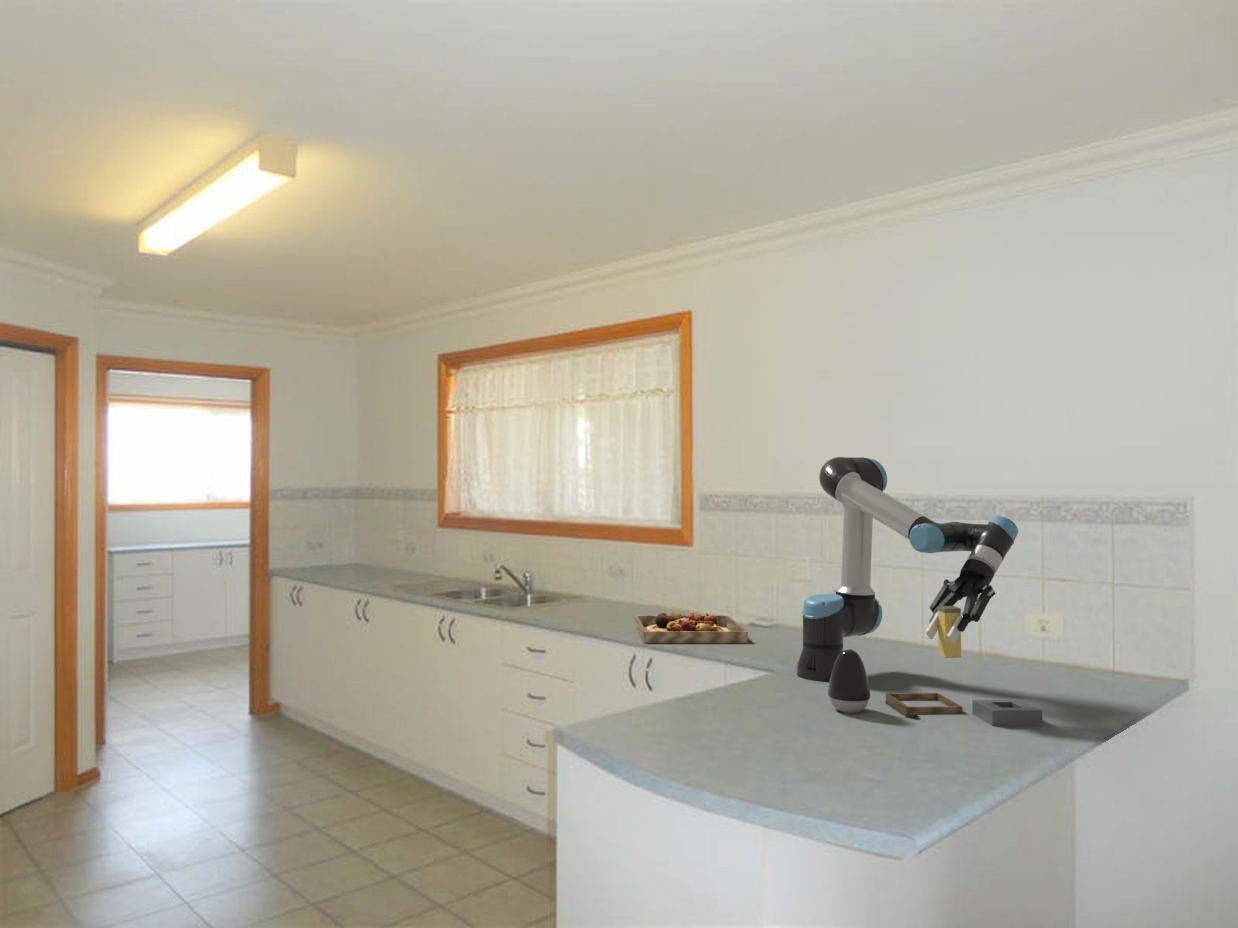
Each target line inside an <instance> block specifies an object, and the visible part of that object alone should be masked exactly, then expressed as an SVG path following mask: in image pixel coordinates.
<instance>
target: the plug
mask: <svg viewBox="0 0 1238 928" xmlns="http://www.w3.org/2000/svg"><path fill="white" fill-rule="evenodd" d="M937 608H938V631H937V637H938V639H937V642H938V643H937V647H938V648H937V649H938V650H937V651H938V655H939V656H940V657H943V658H945V659H960V658H962V632H961V633H960V634H959V636H958V638H957V639H956V641H955V643H951V642H950V640H949V639H948V637H947V635H948V633H949V631H950V629H951V628H952V626H953V624H954V623H955V621H956V619H957V617H958V616H962V614H961V613H962V608H961V607H958V606H956V605H953V606H937Z"/></svg>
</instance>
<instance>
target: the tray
mask: <svg viewBox="0 0 1238 928" xmlns="http://www.w3.org/2000/svg"><path fill="white" fill-rule="evenodd" d="M901 700H902V701H904V700H905V701H910V700H911V701H914V700H915V701H916V700H917V701H918V700H919V701H921V700H922V701H924V700H927V701H930V700H932V701H934V700H936V701H939V702H940V703H942V704H943V705H945V706H942V705H941V706H939V705H938V706H934V705H933V706H928V705H927V706H908V705H906V704H905V703H904V702H902V701H901ZM885 704H886V705H888V706H889V707H890V708H892V709H893V710H895V711H897V712H898V713H899V714H900V715H902V716H904V717H905V718H920V716H919V715H918V714H920V715H921V714H923V715H924V714H931V715H932V714H963V707H964V706H962V705H960V704H958V703H957V702H955V701H953V700H952V699H949V698H948V697H946V696H944V695H943V694H941V693H939V692H912V693H911V692H910V693H909V692H898V693H897V692H892V693H891V692H890V693H889V692H886V693H885Z"/></svg>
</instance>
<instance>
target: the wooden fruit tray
mask: <svg viewBox="0 0 1238 928" xmlns="http://www.w3.org/2000/svg"><path fill="white" fill-rule="evenodd" d="M658 615H659V614H657V615H655V614H654V615H652V614H651V615H649V614H646V615H640V614H638V615H635V616H634V627H635V629H636V630H637V633H638V635H639V637H640V639H641V642H642V643H643V644H748V643H749V633H748V632H749V631H748V630H746V628H744V627H743V626H742V625H741V624H740V623H738V622H737V621H736V620H734V619H733V618H732V617H731V616H730V615H713V616H714V617H716V619H717V623H716V625H717V626H720V627H727V629H729V630H730V631H646V627H648V626H651V625H656V622H655V620H656V617H657V616H658ZM667 615H668V616H669V615H670V614H667ZM681 615H682V614H681ZM687 615H688V614H687ZM687 615H685V614H684V615H682V616H683V618H686V617H687ZM694 615H695V616H696V615H697V614H694ZM699 615H700V614H699ZM708 615H709V614H708ZM703 616H705V617H706V614H705V615H700V617H703ZM709 616H711V615H709ZM702 621H703V620H702Z"/></svg>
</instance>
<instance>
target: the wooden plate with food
mask: <svg viewBox="0 0 1238 928" xmlns="http://www.w3.org/2000/svg"><path fill="white" fill-rule="evenodd" d="M657 615H658V616H657V617H656V620H655V622H656V625H651V626H646V627H645V630H646V631H731V630H730V629H729V628H728V627H727V628H726V627H725V626H717V625H716V623H717V619H716V617H714V616H715V615H710V616H709V613H706V614H705V615H706V617H705V616H703V617H700V614H694V613H693V612H690V613H688V614H687V617H686V618H683V616H682V614H681V613H680V612H678V611H677V610H674V612H672V613H670V614H667V613H666V612H665V611H661V612H660V613H659V614H657ZM668 615H669V616H668ZM695 615H696V616H695ZM702 620H703V621H702Z"/></svg>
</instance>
